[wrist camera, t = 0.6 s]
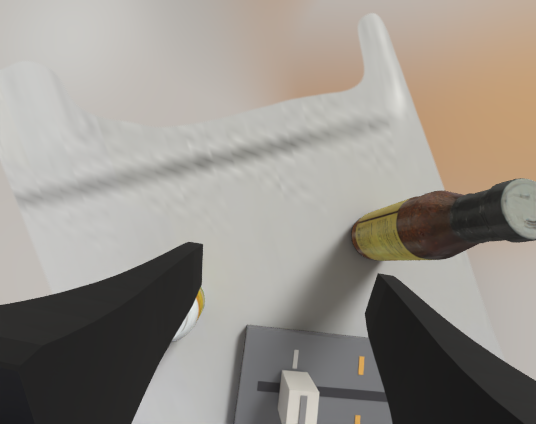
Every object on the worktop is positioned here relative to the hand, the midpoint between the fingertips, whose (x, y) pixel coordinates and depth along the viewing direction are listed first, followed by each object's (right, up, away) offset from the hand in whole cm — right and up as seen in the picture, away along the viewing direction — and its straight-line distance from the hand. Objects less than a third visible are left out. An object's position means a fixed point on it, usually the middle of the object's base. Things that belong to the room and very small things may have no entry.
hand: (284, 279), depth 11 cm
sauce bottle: (+13, 0, +25) cm, 29 cm away
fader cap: (+2, -17, +19) cm, 26 cm away
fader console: (+7, -18, +22) cm, 29 cm away
